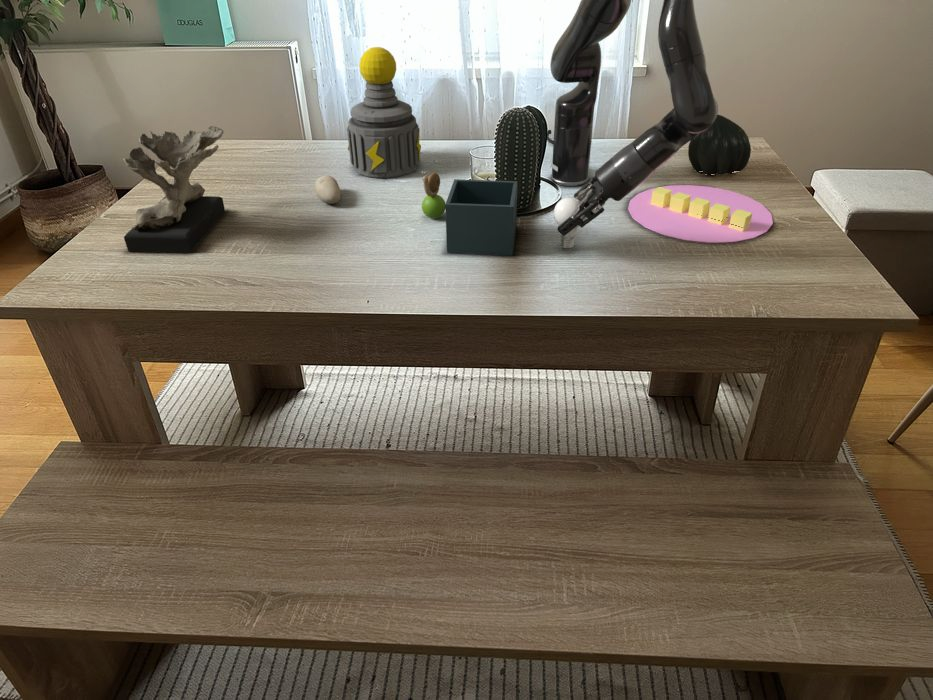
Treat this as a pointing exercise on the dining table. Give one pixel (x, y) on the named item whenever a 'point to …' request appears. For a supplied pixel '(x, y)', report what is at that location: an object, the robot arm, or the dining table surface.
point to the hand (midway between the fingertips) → (560, 224)
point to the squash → (720, 148)
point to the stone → (328, 189)
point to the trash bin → (481, 217)
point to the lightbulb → (563, 213)
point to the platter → (700, 213)
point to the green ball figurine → (432, 196)
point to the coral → (174, 193)
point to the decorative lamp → (382, 123)
